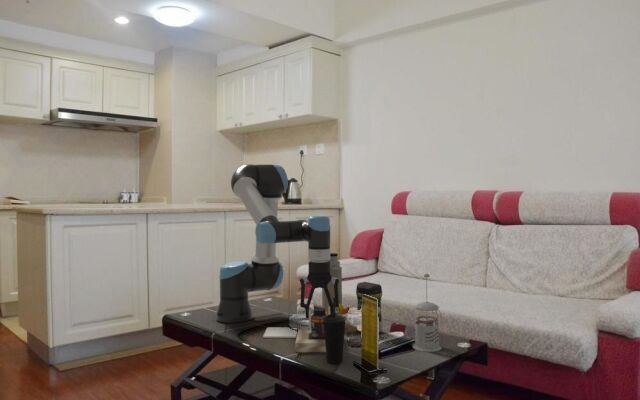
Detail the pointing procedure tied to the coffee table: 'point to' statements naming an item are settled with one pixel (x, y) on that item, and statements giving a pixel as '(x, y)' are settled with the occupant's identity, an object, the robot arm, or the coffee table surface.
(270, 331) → the rubber mat
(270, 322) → the coffee table surface
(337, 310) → the duckling
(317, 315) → the supplement bottle
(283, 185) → the robot arm
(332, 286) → the thermos bottle
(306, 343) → the bore block
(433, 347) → the french press
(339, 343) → the drinking cup
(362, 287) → the coffee jar
